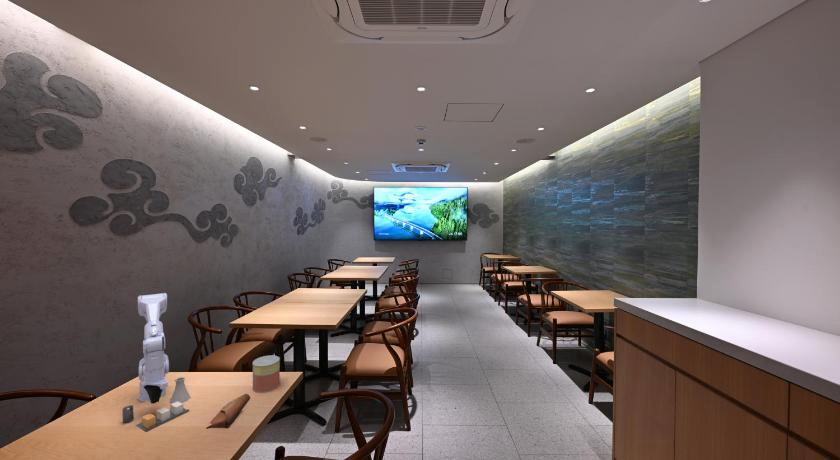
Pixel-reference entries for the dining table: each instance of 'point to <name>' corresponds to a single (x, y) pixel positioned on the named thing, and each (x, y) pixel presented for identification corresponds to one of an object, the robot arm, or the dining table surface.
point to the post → (128, 414)
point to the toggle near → (176, 408)
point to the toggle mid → (163, 414)
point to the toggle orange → (148, 420)
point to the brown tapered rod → (229, 412)
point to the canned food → (266, 373)
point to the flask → (180, 392)
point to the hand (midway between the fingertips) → (155, 402)
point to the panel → (159, 422)
